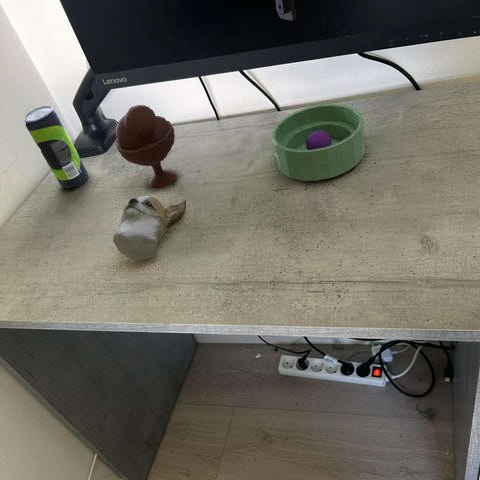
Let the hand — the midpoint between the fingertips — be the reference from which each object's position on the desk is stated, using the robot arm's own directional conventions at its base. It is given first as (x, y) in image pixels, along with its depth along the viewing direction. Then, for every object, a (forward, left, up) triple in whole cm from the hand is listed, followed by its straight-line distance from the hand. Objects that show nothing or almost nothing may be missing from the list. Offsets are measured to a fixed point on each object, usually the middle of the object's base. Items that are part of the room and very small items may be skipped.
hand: (315, 4), depth 68 cm
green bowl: (+1, -2, -24) cm, 24 cm away
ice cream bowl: (+24, -22, -24) cm, 41 cm away
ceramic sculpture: (+34, -7, -24) cm, 42 cm away
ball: (+1, -2, -22) cm, 22 cm away
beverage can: (+37, -39, -24) cm, 59 cm away
